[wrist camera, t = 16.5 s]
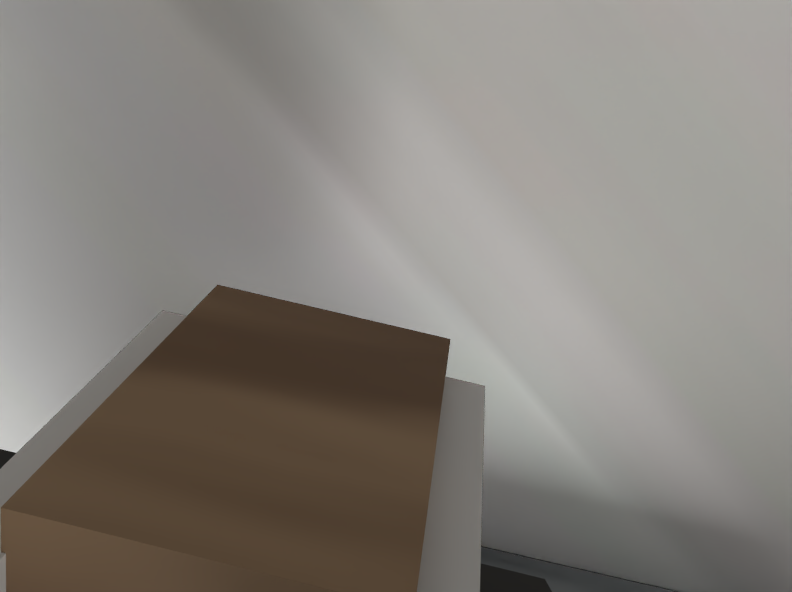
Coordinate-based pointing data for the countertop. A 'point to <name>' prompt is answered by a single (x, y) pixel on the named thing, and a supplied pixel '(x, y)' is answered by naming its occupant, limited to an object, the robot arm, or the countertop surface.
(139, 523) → the walnut block
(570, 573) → the tray
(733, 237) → the countertop surface
